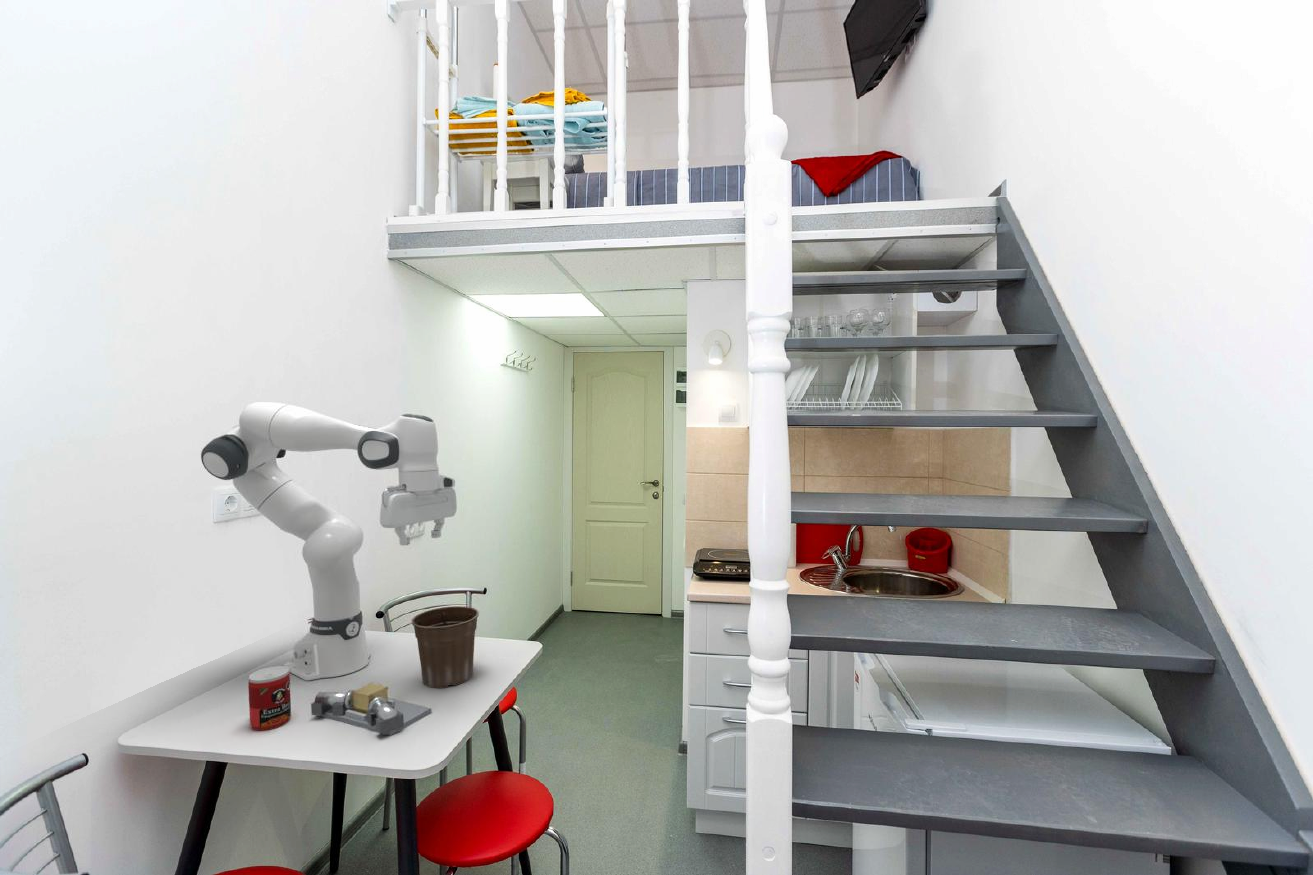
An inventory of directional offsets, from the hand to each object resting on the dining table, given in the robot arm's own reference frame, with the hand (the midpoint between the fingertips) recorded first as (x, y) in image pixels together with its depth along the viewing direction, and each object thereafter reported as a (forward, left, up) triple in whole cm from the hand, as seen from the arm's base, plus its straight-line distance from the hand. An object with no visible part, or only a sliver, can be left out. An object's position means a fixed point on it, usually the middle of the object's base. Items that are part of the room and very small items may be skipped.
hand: (421, 541), depth 144 cm
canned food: (-22, -23, -37) cm, 49 cm away
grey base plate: (-4, -12, -37) cm, 39 cm away
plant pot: (-3, +10, -37) cm, 39 cm away
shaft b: (+4, -15, -37) cm, 40 cm away
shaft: (-12, -15, -37) cm, 42 cm away
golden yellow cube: (-4, -12, -36) cm, 38 cm away
